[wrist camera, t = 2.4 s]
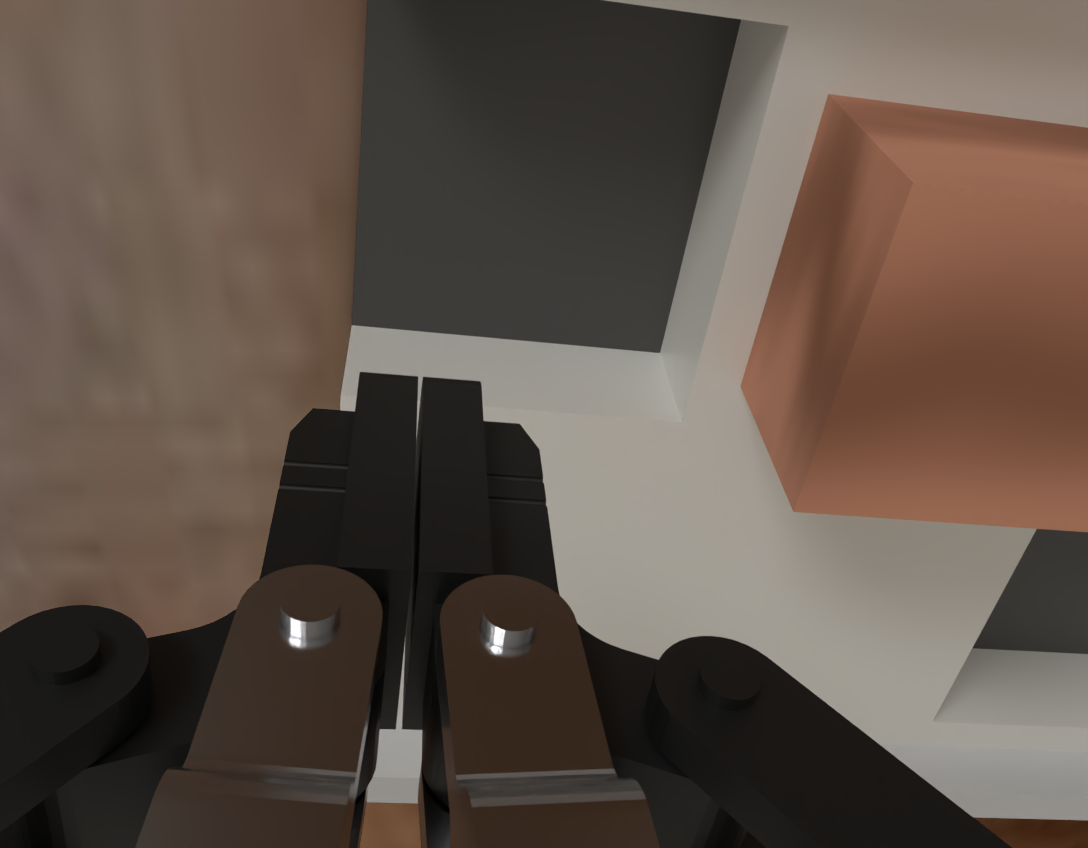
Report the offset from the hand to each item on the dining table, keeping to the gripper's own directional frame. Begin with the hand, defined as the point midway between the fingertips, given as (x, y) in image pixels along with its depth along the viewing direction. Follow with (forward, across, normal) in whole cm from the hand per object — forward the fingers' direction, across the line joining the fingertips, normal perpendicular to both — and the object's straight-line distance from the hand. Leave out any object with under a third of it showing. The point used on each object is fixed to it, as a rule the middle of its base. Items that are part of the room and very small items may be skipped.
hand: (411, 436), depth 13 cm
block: (+7, -10, 0) cm, 12 cm away
